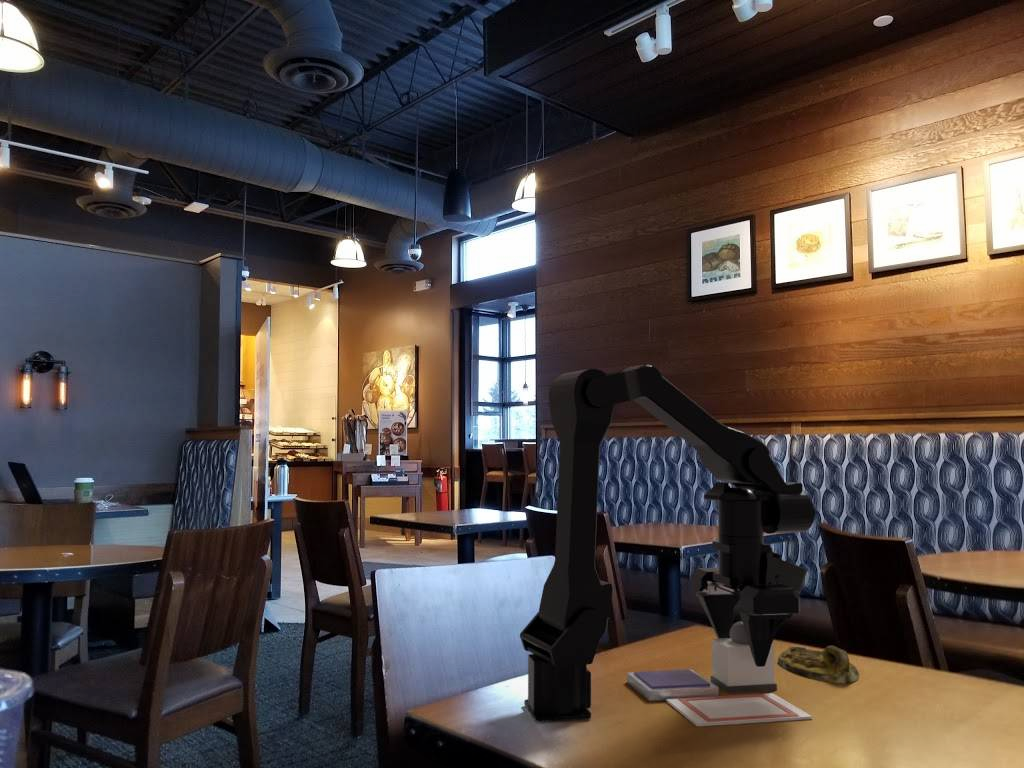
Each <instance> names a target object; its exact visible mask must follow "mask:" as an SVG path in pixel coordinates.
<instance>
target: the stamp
mask: <svg viewBox="0 0 1024 768" xmlns="http://www.w3.org/2000/svg"><path fill="white" fill-rule="evenodd" d="M711 647H712V649H711V658H712V664H711V665H712V669H711V670H712V675H710V682H711V683H713V684H714V685H716V686H717V687H719V688H720V689H721V690H722V691H724V692H725V693H727V694H729V693H746V692H747V693H748V692H751V693H752V692H765V691H778V684H777V683H776V682H775V644H772V646H771V649H770V652H769V655H768V658H767V661H766V664H765V666H764V667H757V666H756V665H755V662H754V659H753V656H752V653H751V650H750V646H749V643H748V639H747V636H746V632H745V629H744V626H743V622H742V620H740V621H737V622H734V623H733V625H732V627H731V629H730V638H725V639H718V638H712V639H711Z"/></svg>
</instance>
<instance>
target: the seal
mask: <svg viewBox="0 0 1024 768" xmlns="http://www.w3.org/2000/svg"><path fill="white" fill-rule="evenodd" d="M777 660H778V661H777V662H778V664H779V665H780V666H781V667H783V669H785V670H788V671H789V672H792V673H795V674H797V675H799V676H803V677H806V678H809V679H812V680H818V681H823V682H827V683H829V682H830V683H835V684H845V685H849V684H850V685H851V684H853V683H855V682H858V680H860V673H859V670H858V669H857V667H856V666H855V665H854V664H852V663H851V662H850V658H849V656H848V652H847V651H846V650H845V649H841V648H839V647H837V646H835V645H827V646H826V647H825V648H824V649H822V651H821V650H813V649H806V647H800V646H790V647H788V648H787V649H786V650H784V651H782V652H781V653H780V654H779V655H778V658H777Z"/></svg>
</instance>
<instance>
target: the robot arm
mask: <svg viewBox="0 0 1024 768" xmlns="http://www.w3.org/2000/svg"><path fill="white" fill-rule="evenodd" d="M630 401H634V402H635V403H637V404H638V405H639V406H641V408H643V409H644V410H645V411H647V412H648V413H649V414H651V415H652V416H653V417H654V418H656V419H657V420H658V421H659V422H660V423H662V424H663V425H665V426H666V427H667V428H669V430H671V431H672V432H674V433H675V434H677V436H678V437H680V438H681V439H682V440H684V441H685V442H686V443H688V444H689V445H690V446H692V448H693V449H694V450H695V451H696V452H697V455H698V457H699V460H700V462H701V463H702V465H703V466H704V467H705V468H706V469H707V471H708V472H709V473H711V475H712V476H713V478H715V479H716V480H718V481H716V482H715V483H714V485H713V486H712V487H711V488H710V489H709V490H707V491H706V493H705V494H704V495H703V499H705V501H706V500H707V501H714V502H715V501H716V502H717V519H718V520H717V521H718V522H717V523H718V524H717V526H718V528H717V529H718V535H717V536H718V537H717V539H718V540H713V541H712V543H711V544H712V549H713V550H717V551H718V567H697V568H696V569H695V570H694V571H693V572H692V573H691V574H690V588H691V589H693V590H695V596H696V597H697V598H698V600H699V602H700V604H701V605H702V608H703V610H704V612H705V614H706V616H707V618H708V620H709V622H710V624H711V626H712V629H713V631H714V633H715V636H716V639H725V638H730V629H731V627H732V625H733V624H734V616H735V615H734V614H735V607H736V605H738V603H740V606H741V607H742V610H739V615H740V619H741V621H742V622H743V626H744V629H745V632H746V636H747V639H748V643H749V646H750V650H751V653H752V656H753V659H754V662H755V665H756V666H757V667H764V666H765V664H766V661H767V658H768V655H769V652H770V649H771V646H772V645H773V642H774V639H775V636H776V633H777V631H778V628H779V627H780V625H782V624H783V623H784V622H786V620H788V619H792V618H793V617H794V616H795V614H800V613H801V596H800V595H799V594H798V593H801V592H802V589H803V585H804V584H805V583H804V582H805V579H806V575H807V573H808V569H806V568H804V567H802V566H799V565H796V564H794V563H792V562H788V561H787V560H783V558H782V557H783V556H782V554H781V553H777V552H774V551H773V548H772V546H771V544H768V543H764V540H765V539H764V533H765V534H769V535H771V534H794V533H795V534H796V533H797V534H798V533H804V532H807V531H808V530H809V529H810V528H811V527H812V525H813V524H814V521H815V517H816V511H815V510H816V509H815V508H814V505H813V503H812V501H811V499H810V497H809V496H808V495H807V494H806V493H805V492H804V491H803V490H804V489H803V483H802V482H795V481H793V482H792V481H790V482H788V481H785V480H784V478H783V477H782V475H781V473H780V472H779V470H778V469H777V467H776V465H775V463H774V462H773V460H772V458H771V456H770V454H771V452H770V449H769V447H768V446H767V445H766V444H765V443H764V442H763V441H761V440H759V439H757V438H755V437H754V436H752V435H750V434H748V433H746V432H744V431H742V430H739V429H735V428H732V427H729V426H727V425H726V424H723V423H721V422H720V421H719V420H717V419H716V418H715V417H714V416H712V414H709V412H707V411H706V410H705V409H704V408H703V407H701V406H700V405H699V404H697V403H696V402H695V401H694V400H692V399H691V398H690V397H689V396H688V395H687V394H685V393H684V392H682V391H681V390H680V389H679V388H678V387H676V386H675V385H674V384H673V383H671V382H670V381H669V380H667V378H666V377H664V376H663V375H662V373H661V371H660V370H659V369H658V368H657V367H655V366H653V365H651V364H642V365H635V366H631V367H626V368H625V369H624V370H620V371H619V370H618V371H615V372H614V371H613V372H609V373H606V372H604V371H603V370H601V369H598V368H587V369H582V370H577V371H576V370H575V371H571V372H565V373H563V374H561V375H558V376H557V377H556V378H555V379H554V381H552V382H551V385H550V386H549V390H548V404H549V411H550V418H551V419H550V420H551V425H552V426H553V430H554V432H555V434H556V437H557V439H558V442H559V462H558V463H559V464H558V484H557V503H556V504H557V507H556V508H557V509H556V510H557V511H556V527H555V528H556V529H555V530H556V533H555V551H554V552H555V553H554V556H555V557H554V564H553V565H552V568H551V570H550V572H549V574H548V576H547V578H546V580H545V582H544V584H543V589H542V591H541V592H542V593H541V597H540V603H539V609H538V612H537V613H536V614H535V615H534V616H533V617H532V619H531V620H529V622H528V623H527V625H526V626H525V627H524V628H523V629H522V631H521V632H520V633H519V638H520V641H521V645H522V647H523V650H524V651H526V652H529V653H531V654H528V659H527V660H528V661H527V662H528V663H527V668H528V669H527V671H528V672H527V673H528V674H527V676H528V677H527V688H528V689H527V699H525V700H524V701H523V703H524V706H525V707H526V709H527V711H528V712H529V713H530V715H531V717H532V718H533V719H534V721H536V722H553V721H570V720H585V719H587V720H589V719H591V718H592V712H591V711H590V710H589V709H590V708H591V707H592V672H591V671H590V670H589V669H588V667H587V665H591V664H593V663H594V659H595V656H596V653H597V649H598V647H599V643H600V640H601V639H602V638H603V637H604V636H605V635H606V632H607V629H608V620H609V621H612V620H614V618H613V615H612V614H613V613H612V609H611V603H612V602H611V601H612V598H613V597H612V596H613V585H612V583H611V582H607V581H604V580H601V579H600V577H599V574H598V572H597V568H596V555H597V554H596V550H597V529H598V528H597V525H598V523H597V522H598V503H599V501H598V498H599V497H598V496H599V478H600V477H599V474H600V473H599V472H600V453H601V452H600V451H601V449H600V448H601V445H602V442H603V439H605V438H604V437H605V435H606V434H607V432H608V430H609V428H610V426H611V424H612V420H613V414H614V410H615V405H617V404H621V403H625V402H630ZM719 481H720V482H719ZM729 484H730V485H731V486H733V487H731V486H730V485H729ZM751 490H752V491H751ZM797 592H798V593H797Z"/></svg>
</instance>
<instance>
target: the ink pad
mask: <svg viewBox="0 0 1024 768" xmlns="http://www.w3.org/2000/svg"><path fill="white" fill-rule="evenodd" d="M626 682H627V683H628V684H629V685H630V686H631V687H632V688H634V689H635V690H636V691H637V692H639V694H640V695H642V696H643V697H644V698H645V699H646V700H648V701H649V702H658V701H659V702H660V701H666V699H680V698H697V697H715V696H720V695H719V694H720V693H719V687H718V686H716V685H715V684H713V683H712V682H711V680H708V679H707V678H705V677H704V676H702V675H701V674H699V673H697V672H696V671H695V670H693V669H689V668H688V669H686V668H685V669H669V670H668V669H666V670H665V669H663V670H652V671H651V670H648V671H633V672H632V671H631V672H626Z"/></svg>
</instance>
